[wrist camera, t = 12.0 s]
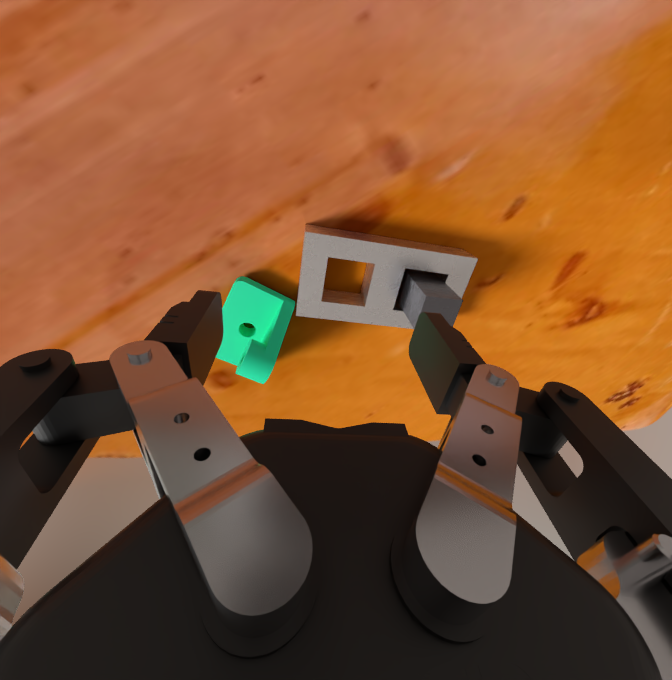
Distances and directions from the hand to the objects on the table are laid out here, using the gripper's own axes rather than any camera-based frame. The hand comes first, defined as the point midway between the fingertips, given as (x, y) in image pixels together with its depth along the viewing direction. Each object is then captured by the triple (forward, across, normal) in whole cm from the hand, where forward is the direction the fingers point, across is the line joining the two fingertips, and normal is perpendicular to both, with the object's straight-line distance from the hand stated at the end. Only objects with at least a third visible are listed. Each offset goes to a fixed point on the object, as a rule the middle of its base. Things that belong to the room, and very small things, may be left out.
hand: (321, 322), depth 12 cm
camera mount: (+26, +7, +15) cm, 31 cm away
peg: (+26, -14, +7) cm, 30 cm away
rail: (+26, -9, +7) cm, 28 cm away
